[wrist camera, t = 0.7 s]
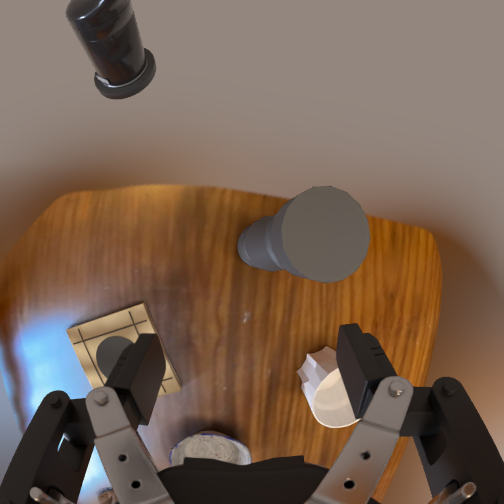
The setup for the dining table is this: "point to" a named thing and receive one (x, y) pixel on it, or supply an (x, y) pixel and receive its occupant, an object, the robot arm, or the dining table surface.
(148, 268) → the dining table surface
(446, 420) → the robot arm
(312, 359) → the cup
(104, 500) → the rock
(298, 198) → the candle holder
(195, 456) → the bowl
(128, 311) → the board
